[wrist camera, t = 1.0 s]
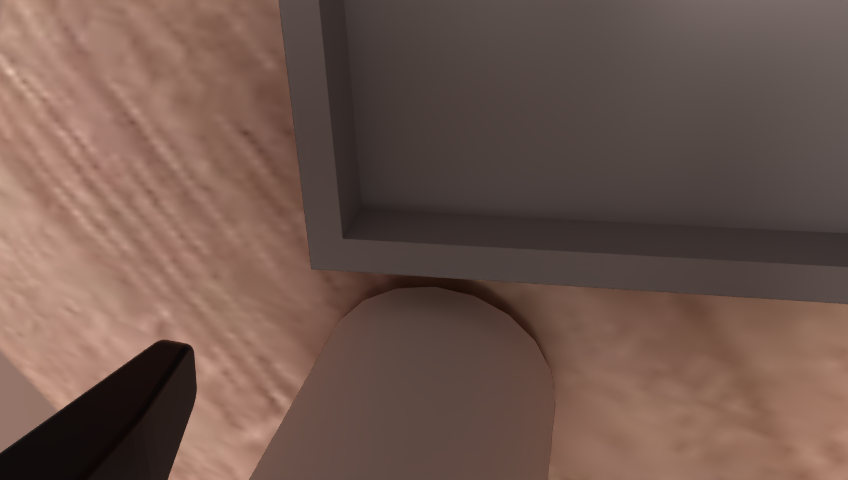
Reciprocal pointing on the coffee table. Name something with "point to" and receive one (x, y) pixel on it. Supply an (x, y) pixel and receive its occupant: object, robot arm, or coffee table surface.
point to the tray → (577, 141)
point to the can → (419, 397)
